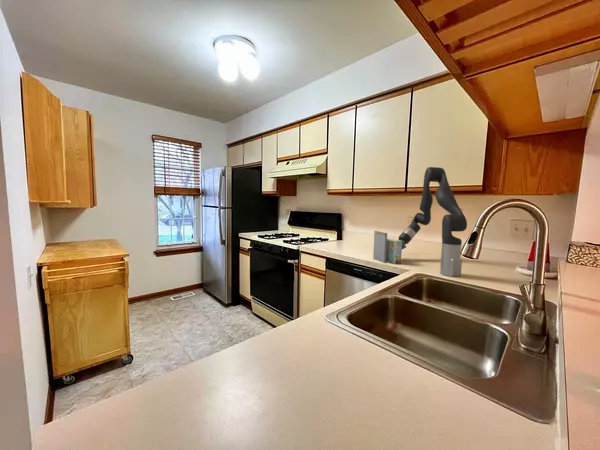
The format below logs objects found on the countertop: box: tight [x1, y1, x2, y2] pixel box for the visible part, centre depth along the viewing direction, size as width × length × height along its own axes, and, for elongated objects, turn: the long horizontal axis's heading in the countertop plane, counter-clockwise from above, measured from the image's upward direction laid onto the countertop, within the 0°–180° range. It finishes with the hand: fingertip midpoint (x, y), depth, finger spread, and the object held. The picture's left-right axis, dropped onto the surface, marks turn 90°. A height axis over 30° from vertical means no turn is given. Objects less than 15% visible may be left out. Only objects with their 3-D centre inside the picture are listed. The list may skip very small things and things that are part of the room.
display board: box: [372, 230, 388, 264], centre depth 175 cm, size 13×2×20 cm, turn 15°
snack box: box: [386, 237, 403, 265], centre depth 177 cm, size 21×6×15 cm, turn 22°
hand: (391, 253), depth 178 cm, fingers closed
